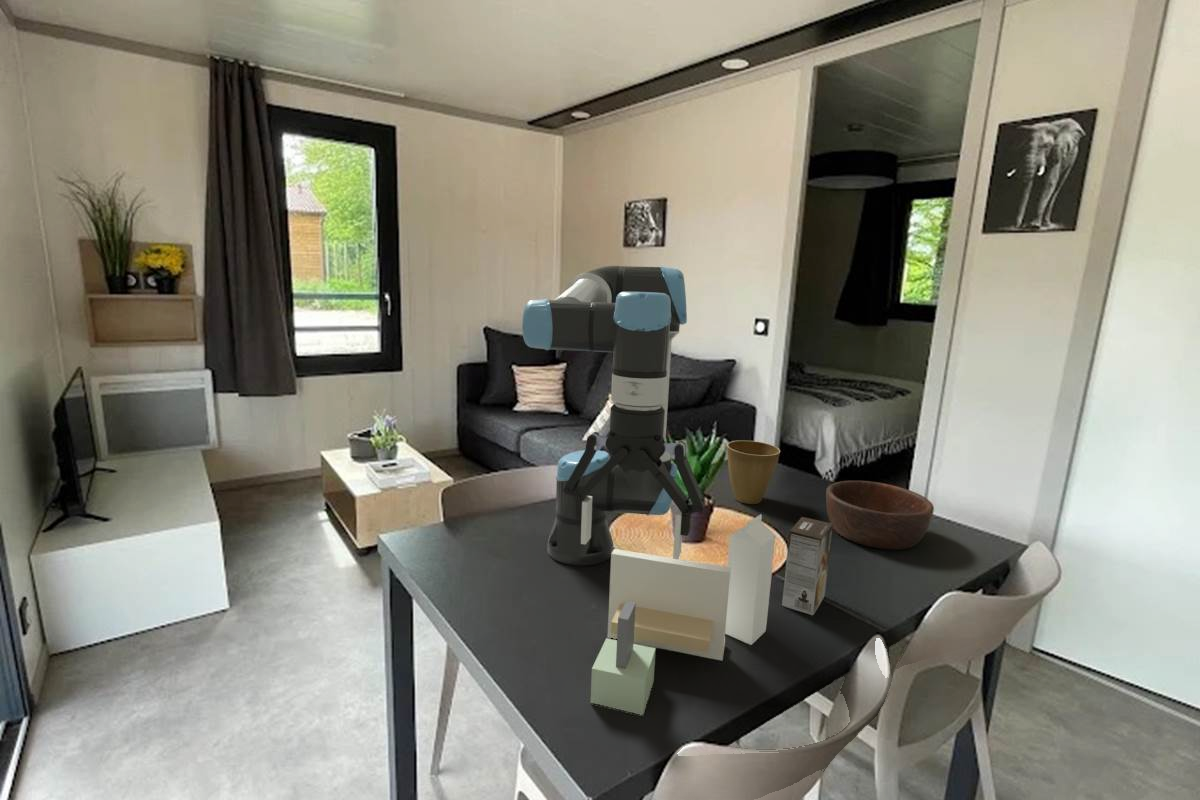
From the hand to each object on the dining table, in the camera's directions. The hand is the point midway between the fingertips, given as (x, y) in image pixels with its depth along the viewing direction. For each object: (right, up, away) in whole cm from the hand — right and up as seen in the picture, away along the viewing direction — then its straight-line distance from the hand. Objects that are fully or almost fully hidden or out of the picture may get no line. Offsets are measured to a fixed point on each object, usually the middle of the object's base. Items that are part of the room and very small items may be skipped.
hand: (630, 547), depth 88 cm
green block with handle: (-1, -23, +5) cm, 24 cm away
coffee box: (+36, -19, +34) cm, 53 cm away
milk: (+22, -21, +22) cm, 37 cm away
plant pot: (+39, -8, +89) cm, 97 cm away
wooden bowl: (+66, -13, +68) cm, 96 cm away
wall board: (+6, -21, +15) cm, 27 cm away
